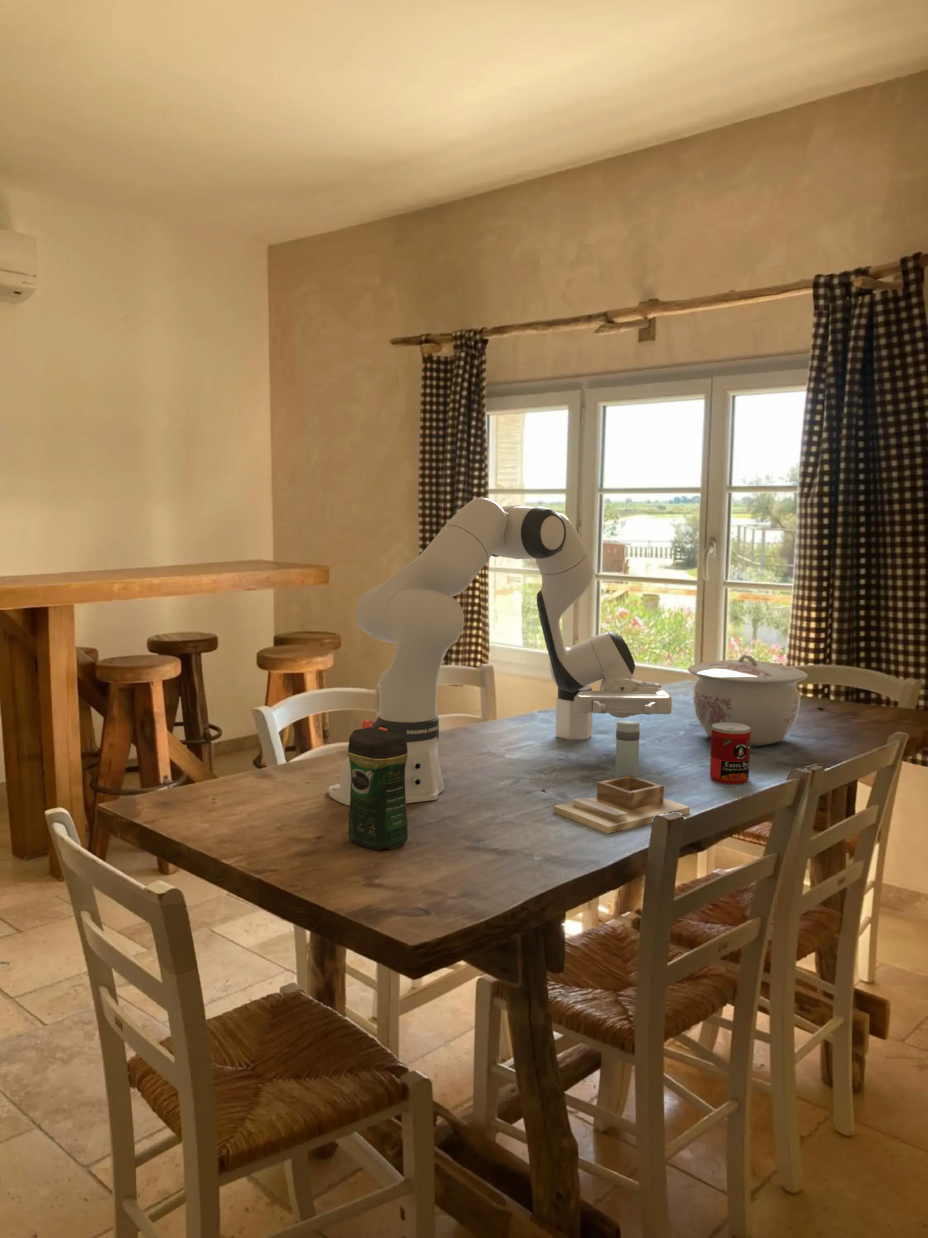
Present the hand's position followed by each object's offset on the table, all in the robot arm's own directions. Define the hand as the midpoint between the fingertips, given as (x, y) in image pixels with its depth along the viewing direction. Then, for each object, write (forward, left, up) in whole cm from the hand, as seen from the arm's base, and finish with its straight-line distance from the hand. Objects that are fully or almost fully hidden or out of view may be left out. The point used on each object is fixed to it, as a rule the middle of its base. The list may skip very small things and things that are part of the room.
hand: (625, 710), depth 200 cm
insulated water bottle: (-8, -9, -13) cm, 18 cm away
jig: (-20, -20, -13) cm, 31 cm away
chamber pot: (+45, +5, -13) cm, 47 cm away
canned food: (+14, -16, -13) cm, 25 cm away
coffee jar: (-64, -9, -13) cm, 66 cm away
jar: (+13, +30, -13) cm, 35 cm away
